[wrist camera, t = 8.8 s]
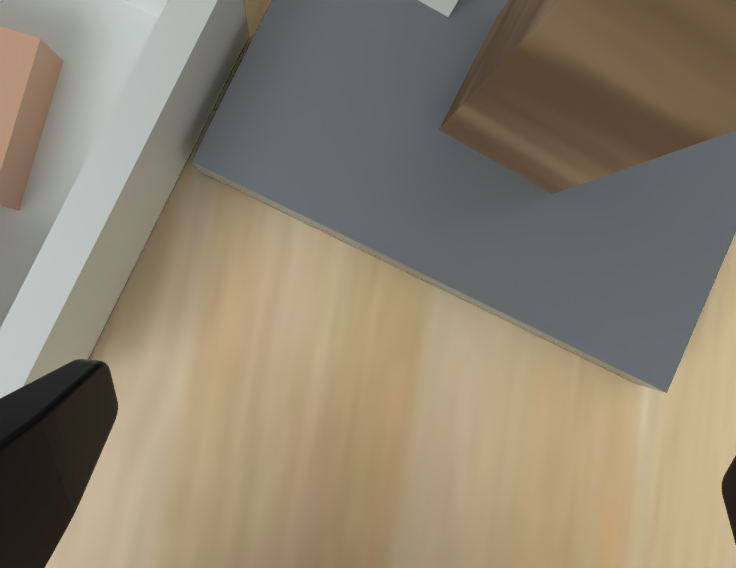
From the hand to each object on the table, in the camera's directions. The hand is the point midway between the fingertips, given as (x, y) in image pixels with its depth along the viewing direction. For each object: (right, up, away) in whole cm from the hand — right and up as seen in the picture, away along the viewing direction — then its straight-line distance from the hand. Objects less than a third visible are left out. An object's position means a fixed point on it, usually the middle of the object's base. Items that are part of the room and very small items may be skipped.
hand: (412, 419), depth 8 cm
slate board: (+4, +7, +11) cm, 13 cm away
